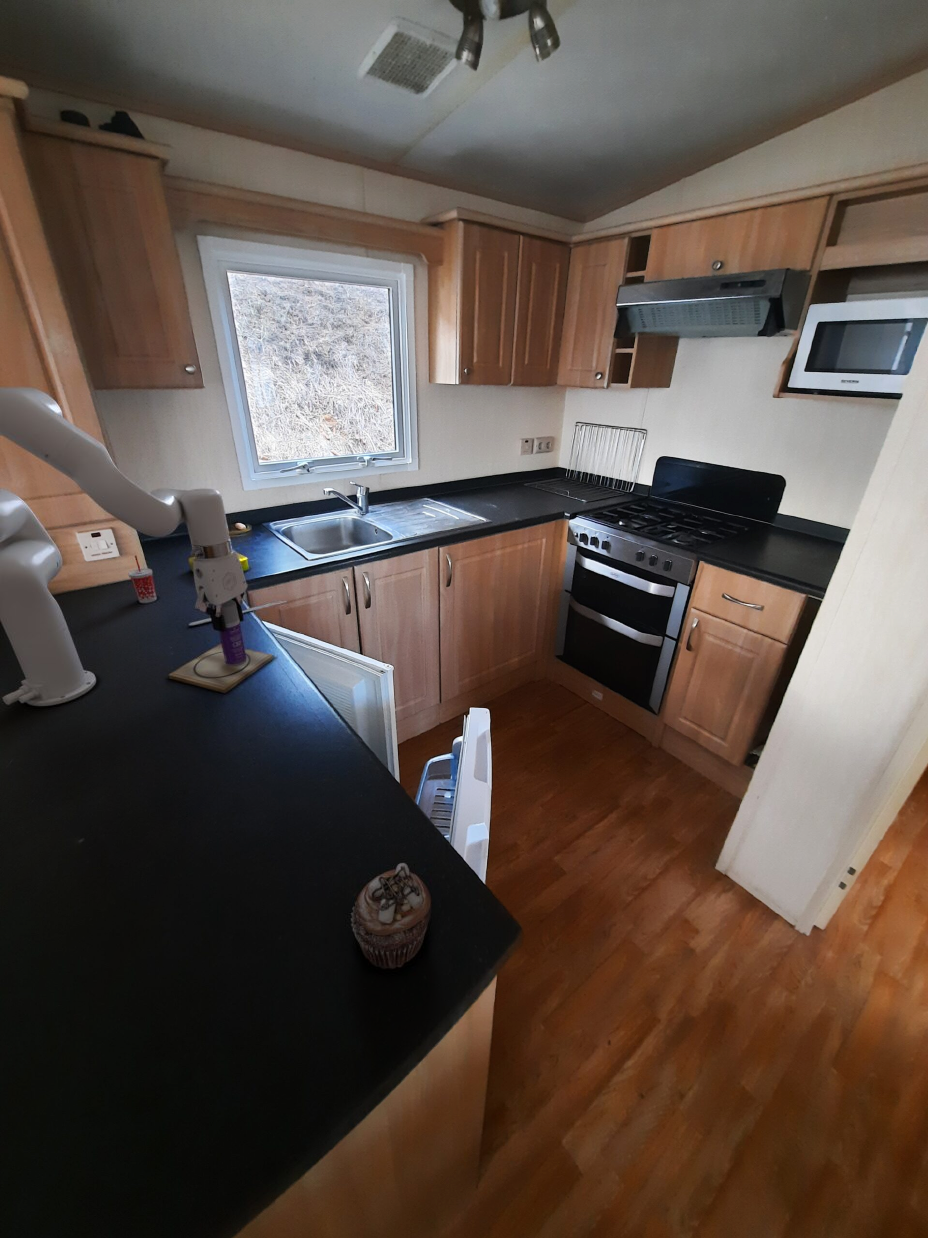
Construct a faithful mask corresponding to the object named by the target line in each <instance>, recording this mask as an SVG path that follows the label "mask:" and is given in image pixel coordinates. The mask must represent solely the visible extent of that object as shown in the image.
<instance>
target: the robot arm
mask: <svg viewBox="0 0 928 1238" xmlns="http://www.w3.org/2000/svg"><path fill="white" fill-rule="evenodd" d="M0 436H2V437H4V438H6V439H7V440H9V441H10V442H12V443H14V444H15V445H17V446H18V447H20V448H22V449H23V450H25V451H27V452H28V453H30V454H32V455H33V456H35V457H36V458H38V459H39V460H41V461H42V462H44V463H46V464H48V465H49V466H50V467H52V468H54V469H55V470H57V471H58V472H60V473H62V474H63V475H65V476H66V477H68V478H70V479H71V480H72V481H73V482H74V483H75V484H76V485H77V486H78V487H79V489H80V490H82V491H83V492H84V493H85V494H86V495H87V496H88V497H89V498H90V499H91V500H92V501H93V502H94V503H95V504H97V506H98V507H100V508H101V509H103V510H104V511H105V512H106V513H108V514H110V515H111V517H114V518H116V519H117V520H118V521H120V522H122V523H123V524H125V525H126V526H128V527H130V528H132V529H133V530H135V531H137V532H139V533H141V534H143V535H146V536H149V537H154V538H163V537H166V536H167V537H168V536H170V535H171V534H173V532H174V531H176V529H177V528H178V527H179V525H181V524H182V523H183V524H186V527H187V532H188V536H189V540H190V544H191V549H192V550H191V551H189V554H190V556H191V558H192V557H195V559H193V571H192V572H193V580H194V586H195V591H196V595H197V599H196V602H195V605H194V609H195V610H196V611H199V612H202V613H204V614H206V615H208V616H209V618H211V621H210V622H211V625H212V629H213V631H217V632H219V631H221V632H225V631H226V625H225V621H224V616H223V615H221V604H223V603H225V602H227V601H229V600H234V601H235V602H236V606H237V611H238V616H239V620H240V623H242V622H244V621H245V619H244V613H242V611H243V609H242V605H243V604H244V600H243V599H244V596H245V593H246V591H247V589H248V586H249V584H248V582H247V581H246V577H245V573H244V572H243V569H242V566H241V563H240V560H239V558H238V556H237V553H238V552H237V551H236V550H235V549H233V546H232V542H231V541H232V540H231V536H230V532H229V526H228V522H227V515H226V510H225V506H224V499H223V496H222V494H221V493H220V492H219V491H218V490H217V489H214V488H194V489H189V490H188V489H174V488H155V489H153V490H151V491H149V492H148V491H147V490H145V489H143V488H142V487H140V486H139V485H138V484H136V483H135V482H134V481H132V480H131V479H130V478H128V477H127V476H126V475H125V474H123V473H122V471H121V470H120V469H119V468H118V467H117V465H116V464H115V463H114V462H113V460H112V457H111V455H110V453H109V452H108V449H107V447H105V445H103V443H102V442H100V441H99V440H97V439H96V438H94V437H93V436H91V435H90V434H88V433H87V432H85V431H84V430H82V429H81V428H80V427H78V426H76V425H75V424H73V423H72V422H70V421H69V420H67V419H66V418H65V417H64V415H63V411H62V409H61V407H60V405H59V403H58V402H57V401H56V400H55V399H53V397H51V396H50V395H49V394H48V393H46V392H44V391H42V390H40V389H37V388H34V387H29V386H28V387H26V386H16V387H15V386H14V387H13V386H9V387H8V386H7V387H4V386H3V387H2V386H0ZM63 563H64V562H63V556H62V554H61V551H60V549H59V548H58V545H57V544H56V543H55V542H54V540H53V538H52V537H51V536H50V534H49V533H48V532H47V530H46V528H45V527H44V526H43V524H42V523H41V522H40V520H39V519H38V517H37V516H36V515H35V513H34V512H33V511H32V509H31V507H30V506H29V505H28V504H27V502H25V501H24V500H23V499H22V498H21V497H19V496H18V495H17V494H15V493H13V492H11V491H10V490H7V489H5V488H1V487H0V623H1V625H2V627H3V629H4V631H5V634H6V636H7V639H8V640H9V642H10V645H11V647H12V650H13V652H14V654H15V656H16V659H17V661H18V664H19V666H20V669H21V670H22V672H23V675H24V677H25V679H23V680H21V681H20V683H21V685H22V686H20V687H18V689H17V690H15V691H12V692H10V693H8V694H6V695H3V696H2V701H3V703H4V704H6V705H8V706H9V705H12V704H13V703H15V702H18V701H19V702H20V704H24V703H26V704H28V705H30V706H35V707H49V706H55V705H60V704H63V703H68V702H70V701H73V700H75V699H77V698H80V697H81V696H83V695H86V694H87V693H88V692H89V691H90V690H92V689H93V688H94V686H95V685H96V683H97V677H96V676H95V674H94V673H93V672H92V671H90V670H89V671H88V670H84V667H83V665H82V662H81V660H80V657H79V654H78V652H77V651H78V650H77V648H76V646H75V643H74V640H73V638H72V635H71V633H70V629H69V627H68V625H67V622H66V619H65V617H64V614H63V611H62V608H61V607H60V605H59V603H58V602H57V600H56V599H55V598H54V596H53V595H52V594H51V592H50V590H49V588H48V585H49V584H50V582H51V581H52V580H54V578H56V577H57V576H58V574H59V573H60V572H61V570H62V567H63Z"/></svg>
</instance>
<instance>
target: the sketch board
mask: <svg viewBox="0 0 928 1238" xmlns="http://www.w3.org/2000/svg"><path fill="white" fill-rule="evenodd" d="M245 653H246V659H247V660H246V662H245V663H244V664H242V665H239V666H228V665H226V663H225V659H224V654H223V649H222V645H221V643H219V644H217V645H216V646H214V647H212V648H211V649H209V650H207V651H206V652H204V653H202V654H201V655H199V656H197V657H195V658H193V659H192V660H190V661H189V662H187V663H185V664H184V665H182V666H180V667H179V668H177V669H175V670H174V671H172V672H171V673H169V674H168V678H169V679H171V680H174V681H177V682H182V683H186V684H189V685H194V686H197V687H200V688H204V689H208V690H211V691H216V692H220V693H223V694H226V693H228V692H229V691H230V690H232V689H234V688H235V687H236V686H238V685H239V684H240V683H241V682H243V681H244V680H246V679H247V678H248V677H250V676H251V675H253V674H254V673H256V672H257V671H258V670H260V669H261V668H263V667H264V666H265V665H267V664H268V663H270V662H271V661H273V660H274V658H275V657H274V654H271V653H266V652H262V651H257V650H253V649H249V648H245Z"/></svg>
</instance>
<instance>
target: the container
mask: <svg viewBox="0 0 928 1238" xmlns="http://www.w3.org/2000/svg"><path fill="white" fill-rule="evenodd" d="M221 615H223V616H224V621H225V625H226V631H225V632H221V631H218V635H219V639H220V644H221V645H222V649H223V654H224V659H225V663H226V665H228V666H239V665H242V664H244V663H245V662H246V660H247V659H246V653H245V649H246V648H245V642H244V637H243V632H242V631H243V630H242V626H241V622H240V620H239V616H238V611H237V606H236V602H235V601H234V600H229V601H227V602H225V603H223V604H221Z"/></svg>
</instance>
